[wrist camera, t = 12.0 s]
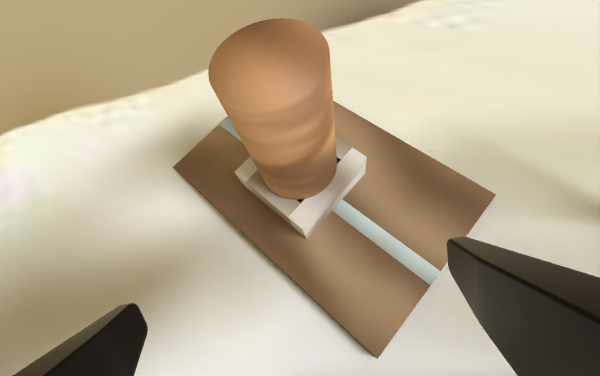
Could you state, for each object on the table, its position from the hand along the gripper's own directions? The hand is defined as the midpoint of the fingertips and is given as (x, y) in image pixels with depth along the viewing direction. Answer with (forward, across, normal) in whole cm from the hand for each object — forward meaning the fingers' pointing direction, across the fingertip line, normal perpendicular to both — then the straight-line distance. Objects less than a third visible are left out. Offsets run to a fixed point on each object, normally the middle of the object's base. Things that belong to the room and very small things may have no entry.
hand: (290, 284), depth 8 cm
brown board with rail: (+16, -1, +3) cm, 17 cm away
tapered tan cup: (+16, 0, +2) cm, 16 cm away
